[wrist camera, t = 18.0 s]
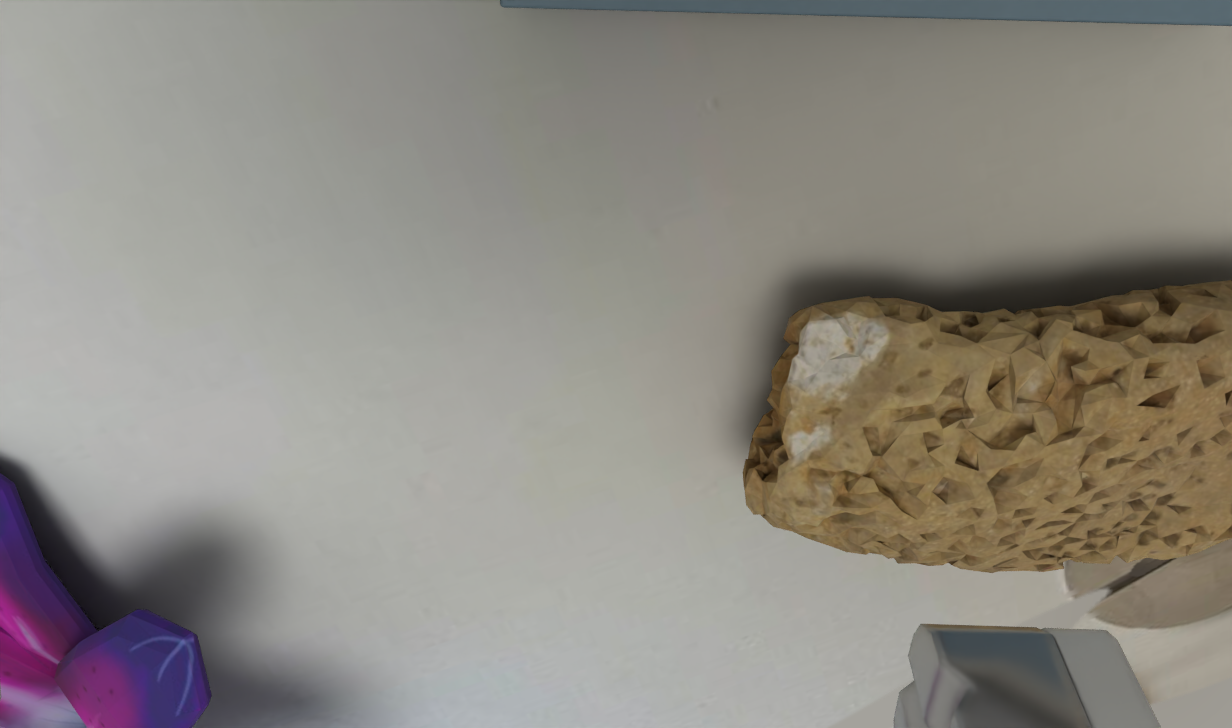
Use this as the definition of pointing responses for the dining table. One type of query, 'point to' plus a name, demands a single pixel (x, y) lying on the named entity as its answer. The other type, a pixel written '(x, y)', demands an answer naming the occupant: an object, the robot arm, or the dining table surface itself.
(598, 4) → the tray
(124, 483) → the dining table surface
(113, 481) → the dining table surface
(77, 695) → the decorative flower
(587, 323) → the dining table surface
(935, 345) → the sponge
